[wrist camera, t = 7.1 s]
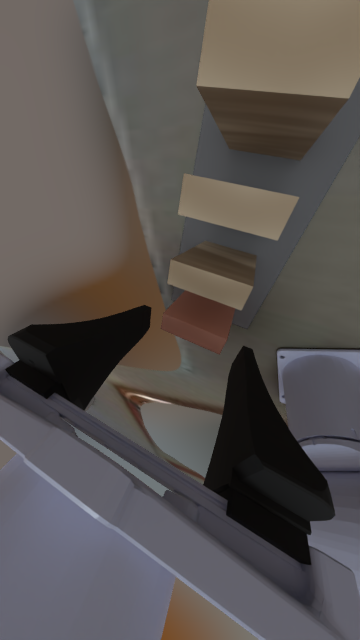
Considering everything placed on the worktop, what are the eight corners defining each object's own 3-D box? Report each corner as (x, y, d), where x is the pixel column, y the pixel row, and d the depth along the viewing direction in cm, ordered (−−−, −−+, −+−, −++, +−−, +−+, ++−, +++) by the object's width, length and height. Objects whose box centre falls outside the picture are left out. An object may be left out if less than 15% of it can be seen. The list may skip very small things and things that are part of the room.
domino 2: (270, 227, 14) (277, 240, 7) (213, 212, 15) (177, 214, 8) (280, 203, 13) (299, 196, 6) (219, 190, 14) (184, 173, 7)
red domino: (233, 306, 18) (219, 354, 12) (192, 291, 19) (160, 328, 13) (239, 294, 17) (227, 339, 11) (195, 279, 18) (163, 313, 12)
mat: (247, 327, 19) (247, 329, 19) (172, 299, 22) (171, 299, 21) (501, -111, 6) (510, -123, 6) (238, -77, 8) (237, -85, 8)
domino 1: (300, 160, 11) (348, 98, 5) (229, 149, 12) (196, 85, 6) (316, 125, 10) (401, -6, 4) (237, 116, 11) (208, 0, 5)
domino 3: (249, 272, 16) (241, 310, 10) (201, 257, 17) (167, 283, 11) (256, 255, 15) (253, 286, 9) (205, 240, 16) (170, 259, 10)
